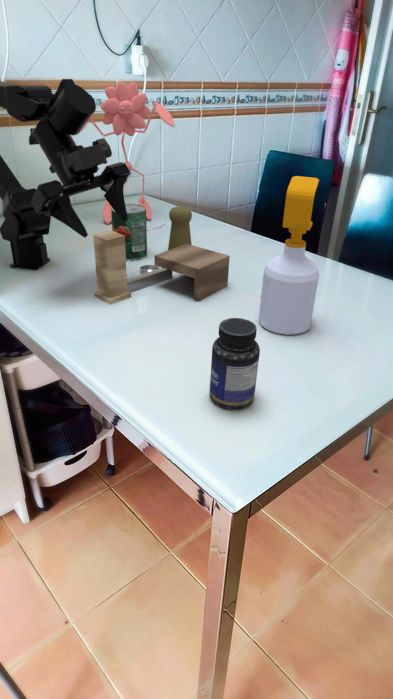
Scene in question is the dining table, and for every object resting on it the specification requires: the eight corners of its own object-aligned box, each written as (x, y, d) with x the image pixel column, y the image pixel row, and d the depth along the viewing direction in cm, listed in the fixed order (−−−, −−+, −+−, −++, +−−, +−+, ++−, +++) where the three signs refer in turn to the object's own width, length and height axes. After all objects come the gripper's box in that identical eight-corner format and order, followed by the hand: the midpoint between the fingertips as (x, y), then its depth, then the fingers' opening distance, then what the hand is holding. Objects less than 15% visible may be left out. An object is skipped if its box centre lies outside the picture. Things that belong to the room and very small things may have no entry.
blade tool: (94, 295, 92) (89, 234, 85) (161, 273, 103) (161, 217, 96) (110, 304, 89) (106, 241, 83) (177, 280, 100) (178, 223, 94)
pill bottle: (207, 385, 67) (210, 314, 62) (249, 384, 68) (257, 314, 62) (212, 412, 62) (216, 338, 56) (258, 411, 62) (267, 337, 57)
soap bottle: (313, 317, 87) (337, 176, 74) (306, 340, 79) (332, 187, 67) (264, 308, 89) (280, 170, 76) (253, 330, 82) (269, 181, 69)
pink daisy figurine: (79, 219, 135) (66, 78, 117) (165, 214, 144) (167, 81, 125) (88, 237, 123) (76, 82, 105) (182, 230, 132) (186, 85, 113)
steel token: (137, 279, 100) (137, 270, 99) (144, 272, 103) (144, 264, 102) (155, 281, 99) (155, 272, 98) (161, 275, 102) (161, 266, 101)
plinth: (154, 286, 96) (154, 255, 93) (185, 272, 103) (186, 243, 100) (197, 301, 91) (199, 269, 88) (227, 286, 98) (229, 255, 94)
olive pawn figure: (189, 259, 111) (190, 211, 105) (164, 257, 111) (164, 209, 106) (194, 251, 116) (196, 205, 110) (170, 248, 117) (170, 203, 111)
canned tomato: (107, 257, 110) (103, 209, 104) (124, 247, 116) (121, 201, 111) (137, 263, 108) (135, 214, 102) (153, 252, 114) (152, 206, 108)
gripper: (26, 133, 73) (79, 223, 74) (120, 114, 84) (165, 192, 85) (11, 173, 82) (58, 252, 83) (97, 151, 93) (138, 221, 94)
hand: (106, 228), depth 86 cm, fingers open, 9 cm apart
